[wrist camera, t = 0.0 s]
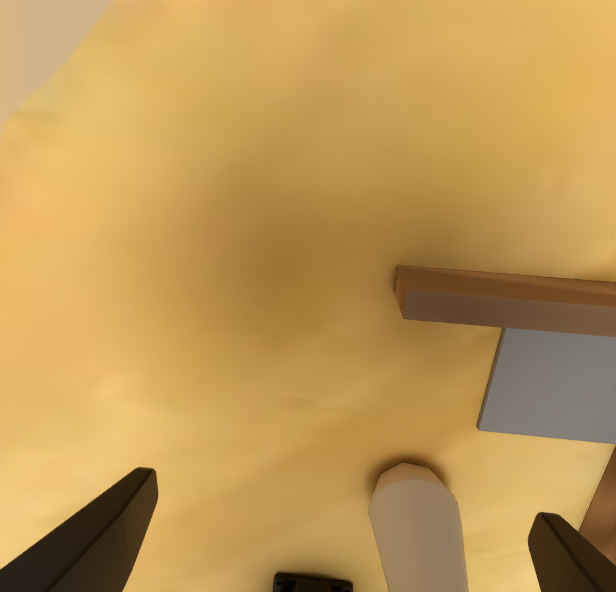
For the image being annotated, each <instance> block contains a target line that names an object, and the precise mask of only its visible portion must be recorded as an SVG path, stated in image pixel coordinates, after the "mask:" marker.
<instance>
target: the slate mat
mask: <svg viewBox="0 0 616 592" xmlns="http://www.w3.org/2000/svg"><path fill="white" fill-rule="evenodd" d="M477 428H478V430H479V431H489V432H499V433H509V434H519V435H529V436H539V437H549V438H559V439H569V440H579V441H588V442H598V443H608V444H616V337H606V336H595V335H583V334H572V333H560V332H549V331H537V330H525V329H514V328H503V330H502V334H501V337H500V341H499V345H498V349H497V352H496V356H495V360H494V364H493V367H492V371H491V375H490V379H489V382H488V386H487V390H486V394H485V397H484V401H483V405H482V409H481V412H480V416H479V420H478V424H477Z"/></svg>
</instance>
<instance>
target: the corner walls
mask: <svg viewBox="0 0 616 592" xmlns="http://www.w3.org/2000/svg"><path fill="white" fill-rule="evenodd" d="M394 293H395V296H396V299H397V302H398V305H399V307H400V310H401V313H402V316H403V319H409V320H421V321H433V322H444V323H456V324H467V325H479V326H491V327H502V328H514V329H525V330H537V331H549V332H560V333H572V334H583V335H595V336H606V337H616V283H615V282H602V281H590V280H577V279H564V278H552V277H539V276H526V275H513V274H501V273H488V272H475V271H463V270H450V269H437V268H425V267H412V266H399V265H397V270H396V277H395V284H394ZM579 533H580V534H581V535H582V536H583V537H585V538H586V539H587V540H588V541H589V542H590V543H591V544H592V545H593V546H595V547H596V548H597V549H598V550H599V551H600V552H601V553H602V554H604V555H605V556H606V557H607V558H608V559H609V560H610V561H611V562H613V563H614V564H615V565H616V448H615V450H614V452H613V455H612V457H611V459H610V462H609V464H608V466H607V468H606V471H605V473H604V475H603V478H602V480H601V482H600V484H599V487H598V489H597V491H596V493H595V496H594V498H593V500H592V503H591V505H590V507H589V509H588V512H587V514H586V516H585V519H584V521H583V523H582V525H581V528H580V530H579Z"/></svg>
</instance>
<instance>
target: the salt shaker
mask: <svg viewBox="0 0 616 592" xmlns="http://www.w3.org/2000/svg"><path fill="white" fill-rule="evenodd" d="M368 514H369V517H370V521H371V524H372V528H373V532H374V535H375V539H376V543H377V547H378V551H379V555H380V559H381V562H382V566H383V570H384V574H385V578H386V582H387V586H388V590H389V592H469V591H468V582H467V572H466V563H465V553H464V544H463V535H462V525H461V517H460V512H459V507H458V503H457V501H456V499H455V497H454V495H453V494H452V493H451V492H450V491H449V490H448V489H447V488H446V486H445V485H444V484H443V483H442V482H441V481H440V480H439V479H438V478H437V477H436V475H435V474H434V473H433V472H432V471H431V470H430V469H429V468H428V467H424V466H419V465H414V464H410V463H405V462H401V463H400V464H398V465H396V466H394V467H392V468H391V469H389V470H387V471H385V472H384V473H382V474H381V475H380V478H379V480H378V483H377V485H376V488H375V490H374V493H373V496H372V499H371V502H370V505H369V513H368Z"/></svg>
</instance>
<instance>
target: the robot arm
mask: <svg viewBox="0 0 616 592" xmlns="http://www.w3.org/2000/svg"><path fill="white" fill-rule="evenodd" d="M157 500H158V486H157V476H156V471H155V470H154V469H153V468H145V467H138V468H136V469H134V470H133V471H131V472H130V473H129V474H127V475H126V476H125V477H123V478H122V479H121V480H119V481H118V482H117V483H115V484H114V485H113V486H111V487H110V488H109V489H107V490H106V491H105V492H103V493H102V494H101V495H99V496H98V497H97V498H95V499H94V500H93V501H91V502H90V503H89V504H87V505H86V506H85V507H83V508H82V509H81V510H79V511H78V512H77V513H75V514H74V515H73V516H71V517H70V518H69V519H67V520H66V521H65V522H63V523H62V524H61V525H59V526H58V527H57V528H55V529H54V530H53V531H51V532H50V533H48V534H47V535H46V536H44V537H43V538H42V539H40V540H39V541H38V542H36V543H35V544H34V545H32V546H31V547H30V548H28V549H27V550H26V551H24V552H23V553H22V554H20V555H19V556H18V557H16V558H15V559H14V560H12V561H11V562H10V563H8V564H7V565H6V566H4V567H3V568H2V569H0V592H122V591H123V589H124V587H125V585H126V583H127V580H128V578H129V576H130V574H131V571H132V569H133V566H134V564H135V561H136V559H137V556H138V553H139V550H140V548H141V545H142V542H143V540H144V537H145V534H146V531H147V529H148V526H149V523H150V520H151V518H152V515H153V512H154V510H155V507H156V504H157ZM528 547H529V551H530V554H531V558H532V561H533V565H534V568H535V572H536V575H537V579H538V582H539V586H540V589H541V592H616V565H615V564H614V563H613V562H611V561H610V560H609V559H608V558H607V557H606V556H605V555H604V554H602V553H601V552H600V551H599V550H598V549H597V548H596V547H595V546H593V545H592V544H591V543H590V542H589V541H588V540H587V539H586V538H585V537H583V536H582V535H581V534H580V533H579V532H578V531H577V530H576V529H574V528H573V527H572V526H571V525H570V524H569V523H568V522H567V521H566V520H564V519H563V518H562V517H561V516H559V515H558V514H554V513H545V512H539V513H538V514H537V515H536V517H535V520H534V522H533V525H532V528H531V530H530V533H529V536H528ZM273 592H353V585H352V584H351V583H348V582H340V581H332V580H324V579H316V578H308V577H300V576H292V575H284V574H277V575H275V576H274V581H273Z"/></svg>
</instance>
